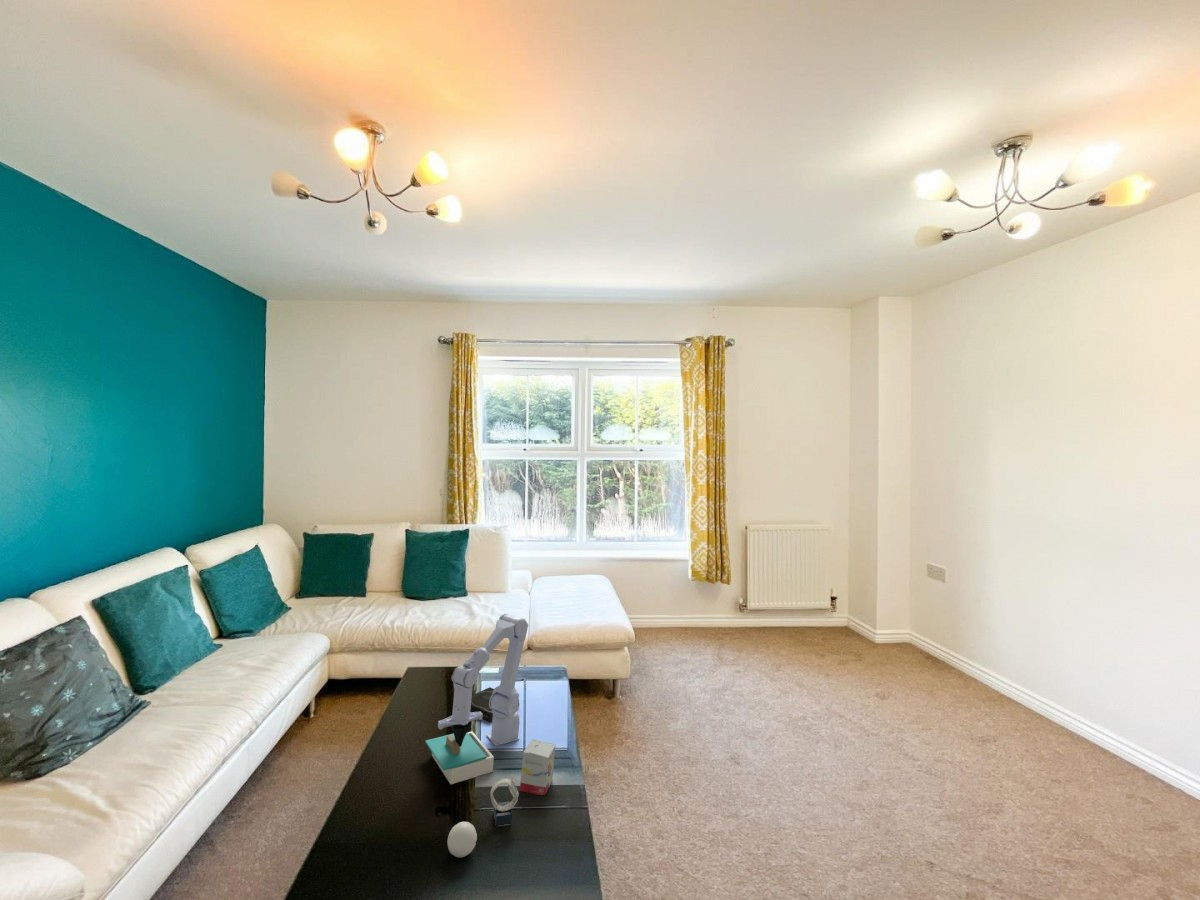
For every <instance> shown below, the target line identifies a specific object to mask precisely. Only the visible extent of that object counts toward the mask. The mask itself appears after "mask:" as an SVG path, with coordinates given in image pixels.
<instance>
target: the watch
mask: <svg viewBox="0 0 1200 900" xmlns="http://www.w3.org/2000/svg"><path fill="white" fill-rule="evenodd" d="M502 785H507V787H508V790H509V792H510V794H511V796H512V800H511V801H503V802H501V801H500V802H497V801H496V799H495V796H494V792H495V791H496V789H497V788H499V787H500V786H502ZM489 795H490V801H491V803H492V804H491V805H492V807H493V814H494V816H493V820H494V819H495V822H494V826H495V825H496V826H498V825H504V824H511V825H512V823H513V822H512V819H513V812H512V809H513V808H514V806H516V805H517V804H516V803H517V802H518V800H519V799H518V797H519V796H520V794H519V791H518V788H517V786H516V783H515V781H514V780H513V778H509V777H503V778H499V779H498V780H497V781H495V782H494V783H493V785H492V787H491V789H490V793H489ZM493 814H492V815H493Z"/></svg>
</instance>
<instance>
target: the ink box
mask: <svg viewBox="0 0 1200 900" xmlns="http://www.w3.org/2000/svg"><path fill="white" fill-rule="evenodd" d="M556 747H557V746H556V744H554V743H551V742H545V741H542V740H536V739H531V740H530V742H529V743H528V745H526V747H525V749H524V750H523V753H522V762H521V763H522V764H521V771H520V773H521V774H520V780H519V781H520V782H519V791H520V792H525V793H529V794H534V795H539V796H543V795H545V794H546V795H547V792H548V791H549V789H550V786H551V784H552V781H553V775H554V768H555V767H554V765H555V755H556ZM546 795H545V796H546Z"/></svg>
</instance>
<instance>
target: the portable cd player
mask: <svg viewBox="0 0 1200 900" xmlns="http://www.w3.org/2000/svg"><path fill="white" fill-rule="evenodd" d="M493 690H494V688H492V687H490V686H489V687H487V688H485V689H483V690H479V691H478V692H476V693H474V694H472V698H471V709H470V712H481V713H482V714H483V715H482V720H483V721H485V722H487V723H492V720H493V713H492V709H491V708H490V707H489V700H490V698H491V696H492V694H493ZM518 701H519V702H520V699H518ZM519 707H520V705H519V706H518V708H519ZM482 720H481V721H482Z"/></svg>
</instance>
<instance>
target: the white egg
mask: <svg viewBox="0 0 1200 900" xmlns="http://www.w3.org/2000/svg"><path fill="white" fill-rule="evenodd" d="M448 833H449V834H448V836H447V841H446V843H447V848H448V851H449V853H450V854H451V855H452V856H454V857H456V858H464V857H466V856H468V855H469V854H471V853H472V851H473V850H474V848H475V847H476V843H477V840H478V835H477V834H478V833H477V831H476V828H475V826H474V825H473V824H472V823H470V822H469V821H461V822H460V821H458V823H457V824H455V825H454V826H453V827H451V830H450V831H449V832H448Z"/></svg>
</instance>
